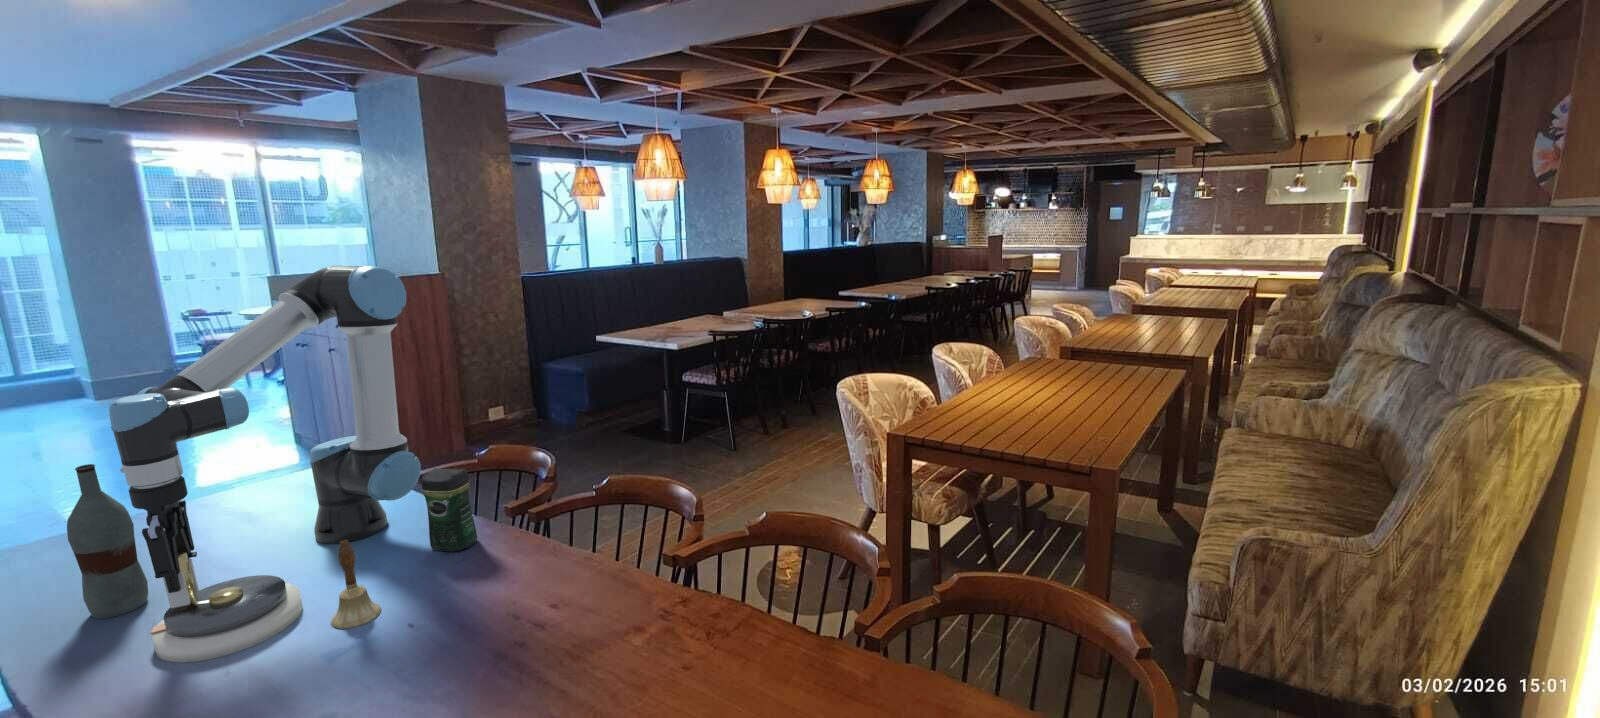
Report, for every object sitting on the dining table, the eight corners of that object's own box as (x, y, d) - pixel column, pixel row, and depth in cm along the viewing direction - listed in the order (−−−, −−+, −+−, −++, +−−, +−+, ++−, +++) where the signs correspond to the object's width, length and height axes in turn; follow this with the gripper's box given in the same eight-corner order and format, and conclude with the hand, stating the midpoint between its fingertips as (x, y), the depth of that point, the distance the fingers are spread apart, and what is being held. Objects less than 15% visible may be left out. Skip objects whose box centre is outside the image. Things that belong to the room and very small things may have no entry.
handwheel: (301, 577, 145) (290, 523, 143) (264, 625, 128) (252, 565, 126) (196, 593, 140) (183, 537, 138) (143, 645, 123) (128, 582, 121)
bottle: (96, 625, 136) (58, 478, 130) (81, 612, 141) (43, 470, 135) (158, 602, 144) (125, 462, 138) (142, 590, 149) (109, 455, 143)
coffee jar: (483, 538, 169) (473, 464, 165) (462, 554, 161) (451, 477, 157) (447, 536, 170) (436, 462, 167) (424, 551, 163) (413, 475, 159)
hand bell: (391, 608, 140) (379, 533, 136) (353, 632, 132) (339, 553, 129) (360, 602, 142) (347, 528, 139) (320, 625, 135) (306, 547, 131)
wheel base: (304, 584, 150) (301, 568, 149) (300, 634, 132) (296, 617, 131) (168, 618, 138) (164, 601, 138) (142, 678, 120) (138, 660, 119)
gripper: (147, 469, 132) (175, 582, 138) (107, 503, 117) (141, 629, 123) (198, 461, 136) (223, 572, 141) (165, 494, 120) (195, 617, 126)
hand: (185, 598), depth 132 cm, fingers open, 4 cm apart
